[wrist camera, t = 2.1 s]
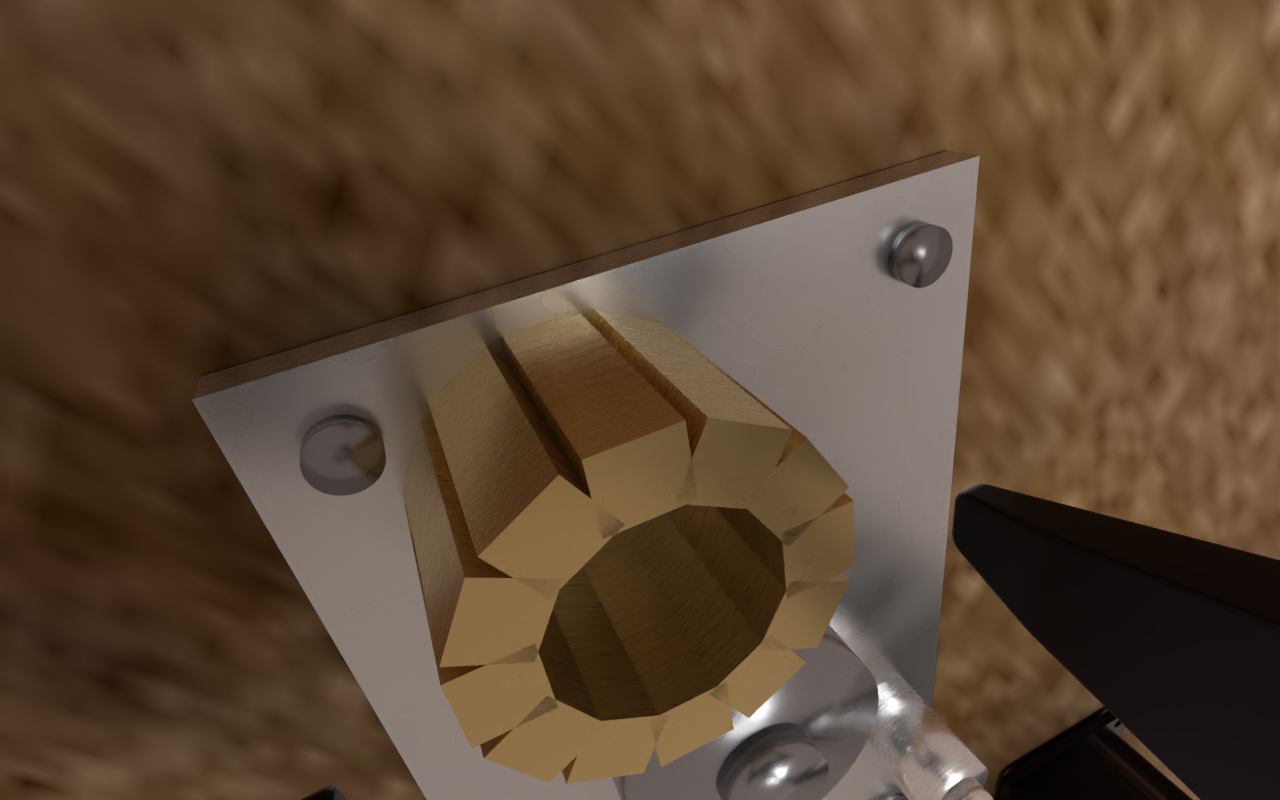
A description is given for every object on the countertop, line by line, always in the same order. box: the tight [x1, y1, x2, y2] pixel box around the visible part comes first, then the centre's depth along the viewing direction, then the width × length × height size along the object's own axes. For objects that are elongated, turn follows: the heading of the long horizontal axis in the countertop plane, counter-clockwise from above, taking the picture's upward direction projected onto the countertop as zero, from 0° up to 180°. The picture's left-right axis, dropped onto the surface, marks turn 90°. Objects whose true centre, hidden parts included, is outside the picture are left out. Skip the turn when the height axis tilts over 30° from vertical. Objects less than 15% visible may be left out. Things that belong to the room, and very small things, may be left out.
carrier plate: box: [192, 150, 994, 800], centre depth 16 cm, size 14×23×4 cm, turn 10°
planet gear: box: [403, 310, 854, 784], centre depth 11 cm, size 6×6×4 cm
